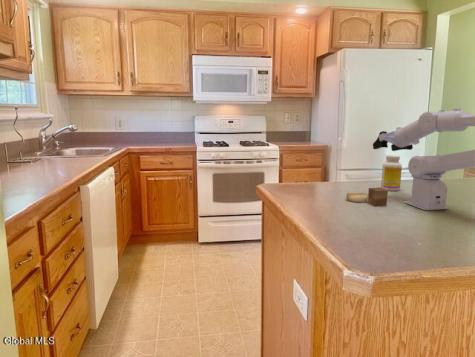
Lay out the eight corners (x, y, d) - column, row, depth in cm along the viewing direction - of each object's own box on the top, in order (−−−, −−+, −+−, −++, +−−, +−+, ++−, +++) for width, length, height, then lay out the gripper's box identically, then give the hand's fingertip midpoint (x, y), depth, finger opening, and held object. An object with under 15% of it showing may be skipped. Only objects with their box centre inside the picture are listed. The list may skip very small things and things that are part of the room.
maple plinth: (371, 202, 113) (371, 196, 113) (352, 203, 112) (353, 197, 112) (360, 197, 120) (360, 191, 119) (342, 198, 118) (343, 192, 118)
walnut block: (386, 205, 109) (387, 190, 108) (374, 206, 108) (376, 190, 108) (378, 202, 113) (380, 187, 112) (367, 203, 112) (368, 188, 111)
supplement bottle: (402, 191, 130) (406, 156, 128) (384, 191, 130) (387, 156, 128) (395, 187, 137) (398, 154, 135) (378, 187, 137) (380, 154, 135)
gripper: (427, 124, 116) (398, 138, 129) (390, 119, 112) (364, 135, 125) (430, 144, 114) (401, 157, 127) (393, 140, 110) (366, 153, 123)
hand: (383, 147), depth 126 cm, fingers open, 7 cm apart
